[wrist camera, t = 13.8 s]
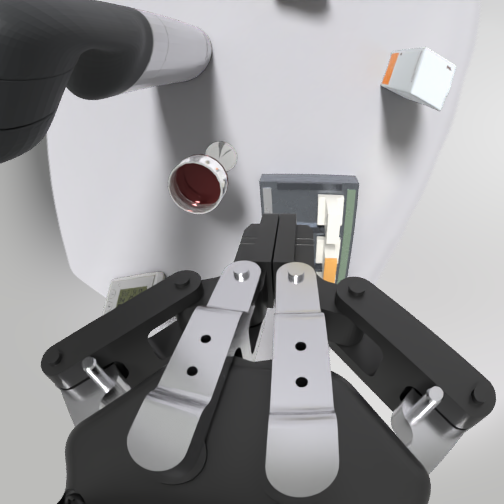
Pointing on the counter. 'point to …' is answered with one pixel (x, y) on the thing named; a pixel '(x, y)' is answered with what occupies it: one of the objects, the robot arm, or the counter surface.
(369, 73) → the counter surface
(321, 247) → the breaker handle
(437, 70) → the skincare box
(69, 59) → the robot arm
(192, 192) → the wineglass
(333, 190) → the breaker panel
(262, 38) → the counter surface
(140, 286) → the digital clock
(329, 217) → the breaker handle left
